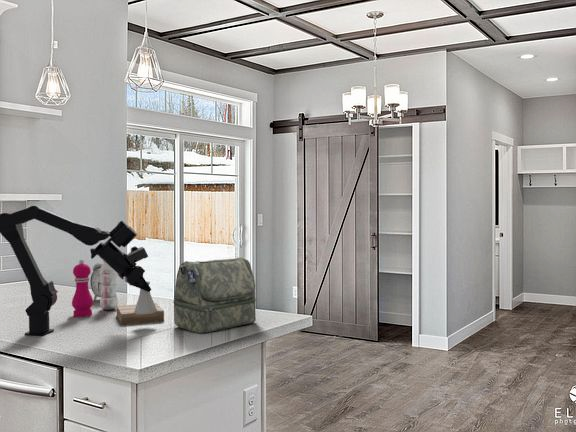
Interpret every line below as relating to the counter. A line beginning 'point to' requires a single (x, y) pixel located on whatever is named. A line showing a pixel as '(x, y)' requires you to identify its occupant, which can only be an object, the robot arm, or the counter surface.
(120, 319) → the board
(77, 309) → the pepper mill
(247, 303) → the lunch bag
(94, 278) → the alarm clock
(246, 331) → the counter surface
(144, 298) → the flask
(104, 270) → the plastic bottle
